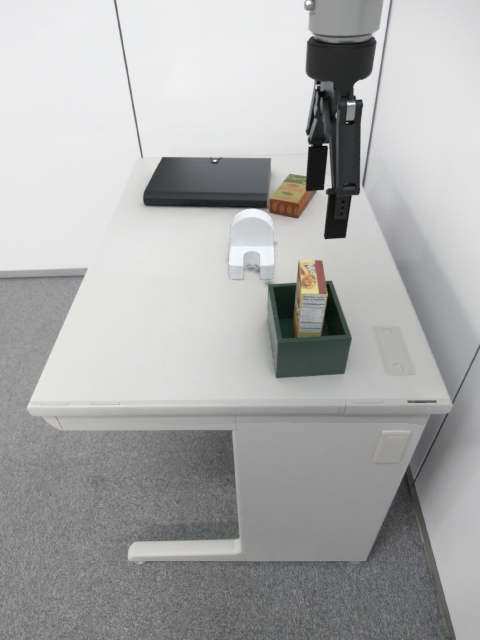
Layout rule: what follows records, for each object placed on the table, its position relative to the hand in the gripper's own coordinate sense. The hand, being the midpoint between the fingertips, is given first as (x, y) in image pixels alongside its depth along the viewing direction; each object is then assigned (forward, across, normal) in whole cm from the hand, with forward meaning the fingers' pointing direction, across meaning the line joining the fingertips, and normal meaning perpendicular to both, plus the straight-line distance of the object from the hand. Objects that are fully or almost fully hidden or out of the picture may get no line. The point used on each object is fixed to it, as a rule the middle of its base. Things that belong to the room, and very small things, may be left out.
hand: (323, 211), depth 62 cm
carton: (+26, -52, +5) cm, 59 cm away
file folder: (+26, -63, -17) cm, 70 cm away
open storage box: (+26, +1, -1) cm, 26 cm away
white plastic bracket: (+26, -28, -8) cm, 39 cm away
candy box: (+26, +1, -1) cm, 26 cm away
